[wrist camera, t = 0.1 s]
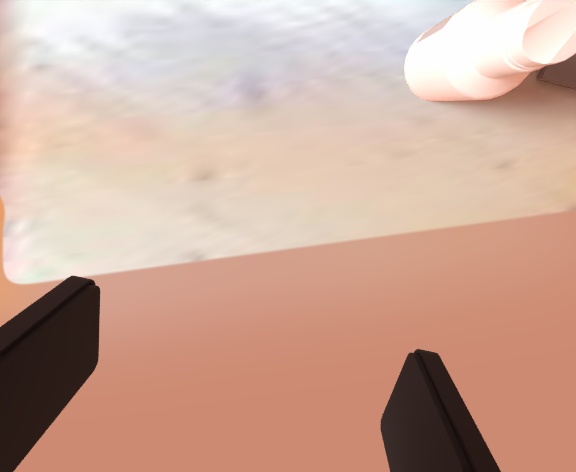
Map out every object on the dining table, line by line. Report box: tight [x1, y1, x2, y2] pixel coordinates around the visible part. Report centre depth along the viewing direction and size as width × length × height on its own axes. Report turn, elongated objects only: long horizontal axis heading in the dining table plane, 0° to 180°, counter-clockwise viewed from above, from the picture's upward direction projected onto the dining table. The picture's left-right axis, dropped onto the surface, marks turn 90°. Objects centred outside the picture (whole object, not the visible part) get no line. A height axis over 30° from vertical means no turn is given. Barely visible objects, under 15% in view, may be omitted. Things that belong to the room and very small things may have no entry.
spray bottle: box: [404, 0, 576, 101], centre depth 27 cm, size 7×7×18 cm
